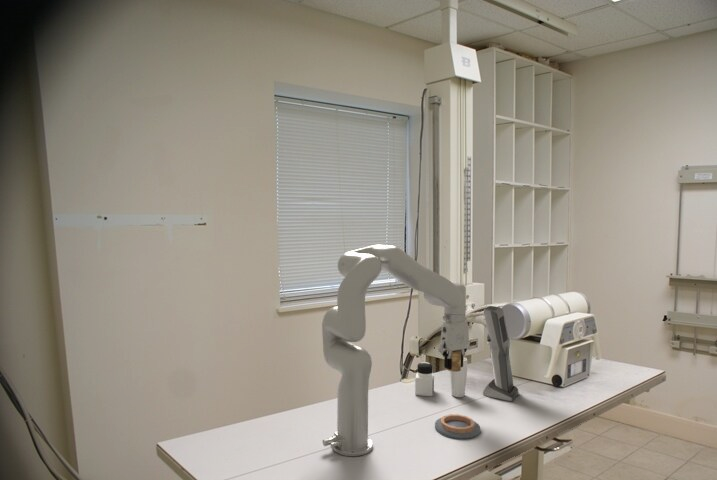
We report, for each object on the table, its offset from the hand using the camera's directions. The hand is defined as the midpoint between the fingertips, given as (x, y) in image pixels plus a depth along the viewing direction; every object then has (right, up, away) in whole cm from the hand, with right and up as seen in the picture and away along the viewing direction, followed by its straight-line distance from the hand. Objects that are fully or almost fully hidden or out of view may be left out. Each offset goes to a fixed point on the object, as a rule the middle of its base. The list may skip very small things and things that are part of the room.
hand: (453, 366), depth 166 cm
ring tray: (-1, -18, -12) cm, 21 cm away
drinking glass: (+6, -17, +18) cm, 25 cm away
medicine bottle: (-8, -17, +20) cm, 27 cm away
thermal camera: (+23, -17, +19) cm, 35 cm away
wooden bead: (0, -1, 0) cm, 1 cm away
